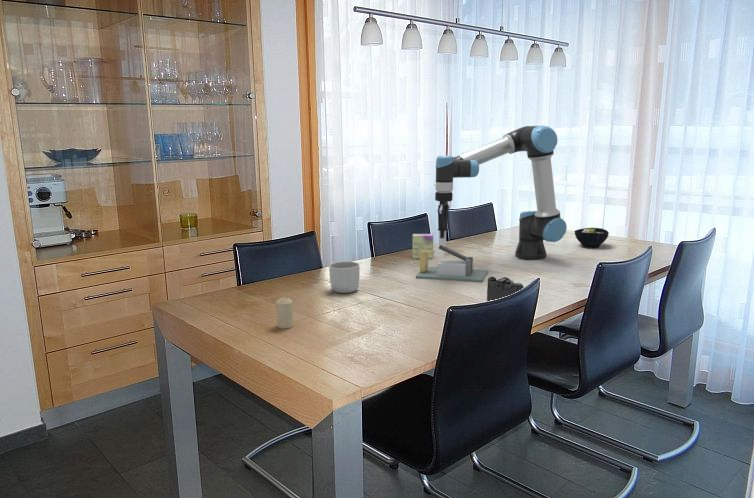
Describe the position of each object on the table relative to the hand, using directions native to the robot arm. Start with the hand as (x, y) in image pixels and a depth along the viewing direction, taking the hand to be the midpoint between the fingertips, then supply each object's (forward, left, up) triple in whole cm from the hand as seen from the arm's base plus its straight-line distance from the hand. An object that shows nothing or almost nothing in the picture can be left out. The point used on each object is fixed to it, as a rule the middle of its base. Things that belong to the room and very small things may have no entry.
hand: (442, 244), depth 259 cm
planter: (+33, +35, -14) cm, 50 cm away
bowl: (-64, -77, -14) cm, 101 cm away
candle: (+37, +81, -14) cm, 90 cm away
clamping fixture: (-4, 0, -14) cm, 14 cm away
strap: (-5, 0, -4) cm, 7 cm away
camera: (-33, +36, -14) cm, 50 cm away
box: (+17, -32, -14) cm, 39 cm away
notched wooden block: (+7, 0, -12) cm, 14 cm away
